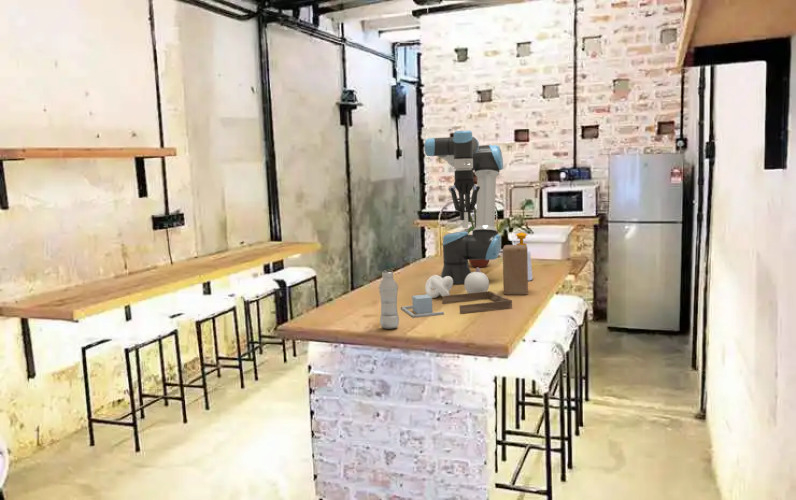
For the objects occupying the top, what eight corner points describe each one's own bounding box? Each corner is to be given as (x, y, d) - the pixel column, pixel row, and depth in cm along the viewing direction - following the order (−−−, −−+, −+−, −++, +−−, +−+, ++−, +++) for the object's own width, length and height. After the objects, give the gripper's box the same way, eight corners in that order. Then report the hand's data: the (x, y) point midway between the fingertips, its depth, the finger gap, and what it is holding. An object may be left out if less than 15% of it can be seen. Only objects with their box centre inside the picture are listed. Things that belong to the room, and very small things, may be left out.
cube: (412, 311, 252) (412, 296, 251) (427, 309, 254) (426, 294, 253) (417, 314, 246) (416, 298, 246) (432, 312, 248) (432, 297, 247)
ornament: (491, 293, 278) (490, 265, 276) (486, 298, 268) (485, 270, 267) (467, 293, 281) (467, 265, 280) (462, 298, 272) (461, 269, 270)
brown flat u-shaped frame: (442, 303, 263) (442, 296, 263) (490, 298, 269) (490, 291, 268) (460, 313, 244) (460, 306, 244) (512, 308, 250) (511, 300, 249)
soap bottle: (531, 275, 315) (531, 230, 312) (532, 281, 301) (532, 233, 298) (511, 276, 316) (510, 230, 313) (511, 281, 303) (510, 233, 300)
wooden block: (527, 295, 272) (527, 247, 269) (503, 295, 274) (502, 248, 271) (528, 290, 281) (527, 244, 279) (504, 290, 283) (503, 244, 281)
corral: (401, 308, 256) (400, 306, 256) (429, 305, 260) (429, 303, 260) (413, 317, 241) (413, 315, 241) (443, 314, 244) (443, 312, 244)
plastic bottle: (379, 326, 230) (377, 270, 228) (398, 325, 231) (396, 269, 228) (380, 331, 224) (378, 273, 221) (400, 330, 225) (398, 272, 222)
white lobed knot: (456, 299, 269) (455, 278, 268) (427, 301, 269) (426, 279, 267) (452, 294, 280) (451, 273, 279) (424, 295, 280) (423, 275, 278)
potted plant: (496, 265, 348) (495, 200, 343) (479, 270, 337) (477, 202, 332) (470, 263, 360) (468, 199, 355) (452, 267, 348) (450, 201, 344)
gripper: (451, 170, 257) (453, 230, 260) (482, 168, 260) (483, 227, 263) (445, 170, 264) (447, 228, 267) (475, 168, 267) (476, 226, 271)
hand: (465, 228), depth 265 cm, fingers closed
